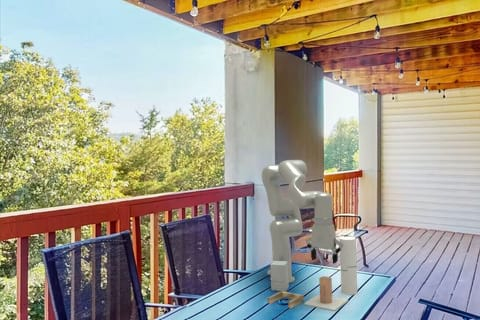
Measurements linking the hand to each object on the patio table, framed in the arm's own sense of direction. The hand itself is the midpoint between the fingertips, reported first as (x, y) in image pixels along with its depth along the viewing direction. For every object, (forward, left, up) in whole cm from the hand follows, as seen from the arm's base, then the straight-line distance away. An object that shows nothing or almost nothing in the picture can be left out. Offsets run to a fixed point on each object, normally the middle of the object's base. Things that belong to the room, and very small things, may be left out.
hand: (324, 261), depth 170 cm
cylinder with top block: (0, 0, -17) cm, 17 cm away
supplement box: (-27, +6, -18) cm, 33 cm away
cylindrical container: (+3, +18, -18) cm, 26 cm away
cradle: (-15, -9, -18) cm, 25 cm away
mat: (0, 0, -18) cm, 18 cm away
